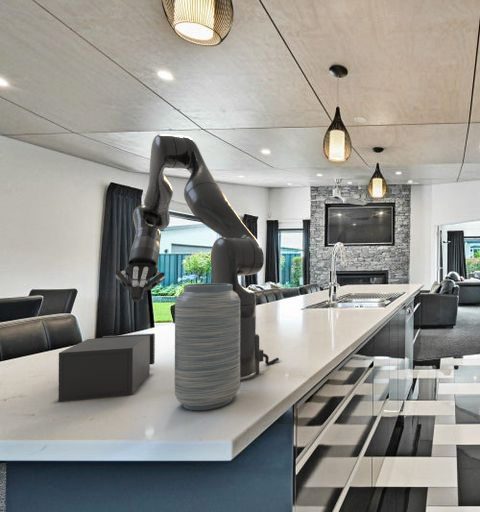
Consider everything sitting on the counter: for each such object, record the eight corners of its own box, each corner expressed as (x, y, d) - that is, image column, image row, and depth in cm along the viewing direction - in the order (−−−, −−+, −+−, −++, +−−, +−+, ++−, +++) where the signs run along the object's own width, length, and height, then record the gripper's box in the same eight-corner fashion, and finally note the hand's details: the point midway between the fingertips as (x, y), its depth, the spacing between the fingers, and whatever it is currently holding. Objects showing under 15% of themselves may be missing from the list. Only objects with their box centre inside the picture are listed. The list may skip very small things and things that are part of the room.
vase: (210, 417, 68) (210, 286, 68) (159, 409, 72) (160, 285, 72) (252, 395, 79) (252, 283, 79) (206, 389, 83) (207, 282, 83)
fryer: (87, 380, 90) (87, 338, 90) (149, 375, 94) (149, 335, 94) (58, 401, 76) (58, 352, 76) (132, 394, 80) (132, 347, 80)
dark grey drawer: (109, 363, 102) (109, 333, 102) (158, 359, 105) (158, 330, 106) (81, 382, 85) (81, 347, 85) (141, 377, 89) (141, 343, 89)
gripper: (117, 244, 114) (106, 291, 103) (169, 247, 120) (162, 292, 109) (120, 261, 119) (109, 307, 108) (169, 263, 125) (163, 307, 114)
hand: (136, 299), depth 109 cm, fingers closed
